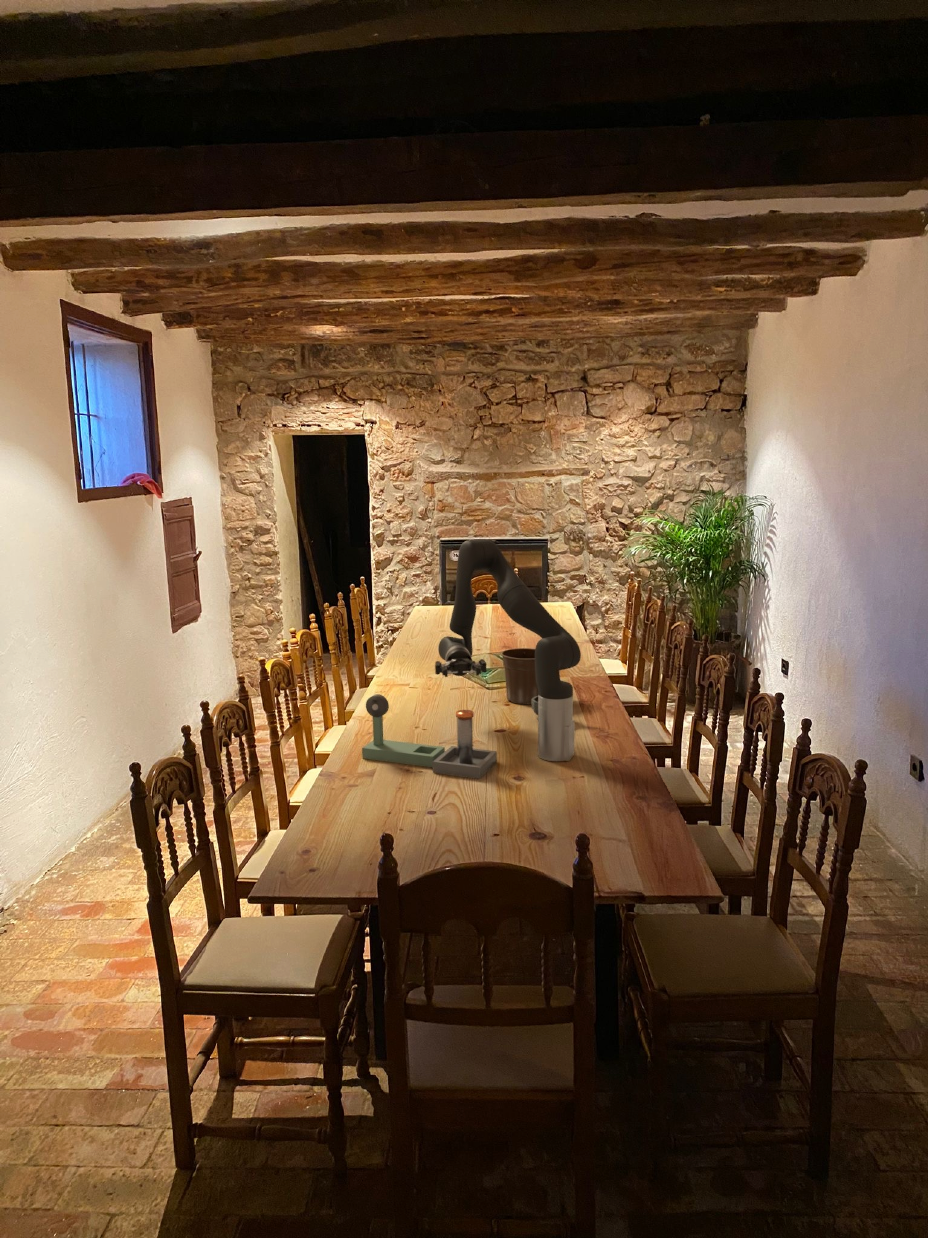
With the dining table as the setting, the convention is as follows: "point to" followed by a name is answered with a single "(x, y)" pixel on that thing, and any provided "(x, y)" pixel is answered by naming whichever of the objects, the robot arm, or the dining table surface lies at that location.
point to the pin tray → (450, 765)
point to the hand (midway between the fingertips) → (462, 672)
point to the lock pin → (465, 736)
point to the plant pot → (520, 675)
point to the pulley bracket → (395, 749)
